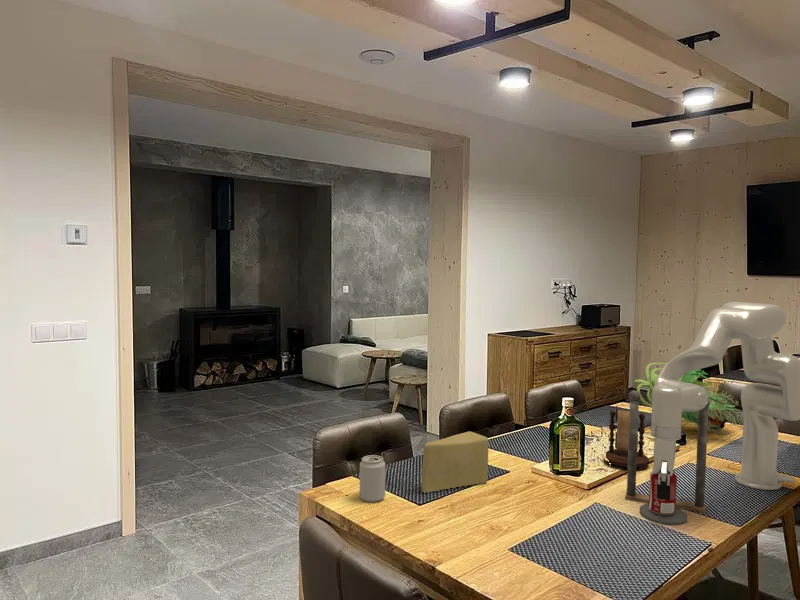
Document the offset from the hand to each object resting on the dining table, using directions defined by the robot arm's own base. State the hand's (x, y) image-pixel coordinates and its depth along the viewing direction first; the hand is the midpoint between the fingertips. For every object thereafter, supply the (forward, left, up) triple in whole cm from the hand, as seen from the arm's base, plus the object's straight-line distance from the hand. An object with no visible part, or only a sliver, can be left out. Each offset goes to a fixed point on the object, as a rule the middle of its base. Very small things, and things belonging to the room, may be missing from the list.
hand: (664, 492), depth 166 cm
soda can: (0, +1, -6) cm, 6 cm away
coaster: (0, 0, -6) cm, 6 cm away
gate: (0, -9, -6) cm, 11 cm away
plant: (-8, -90, -7) cm, 91 cm away
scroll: (+13, -40, -7) cm, 43 cm away
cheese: (+60, +6, -7) cm, 60 cm away
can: (+77, +25, -7) cm, 81 cm away
